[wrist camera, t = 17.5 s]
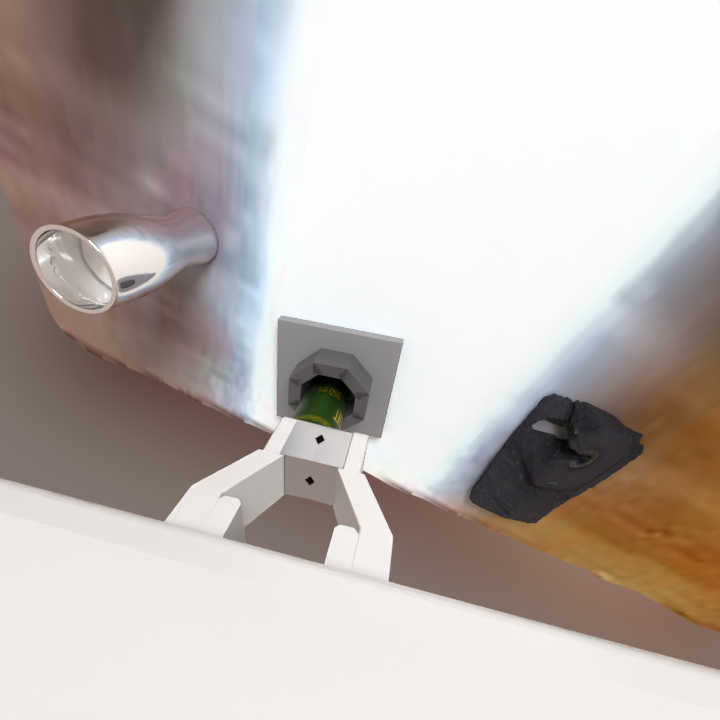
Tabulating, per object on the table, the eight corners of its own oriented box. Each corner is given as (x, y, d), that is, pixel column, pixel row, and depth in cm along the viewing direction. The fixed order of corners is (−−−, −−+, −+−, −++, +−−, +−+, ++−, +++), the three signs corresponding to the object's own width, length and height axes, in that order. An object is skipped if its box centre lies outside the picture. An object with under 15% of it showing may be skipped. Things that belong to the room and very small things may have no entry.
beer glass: (172, 188, 35) (29, 199, 22) (231, 228, 36) (127, 261, 23) (156, 244, 38) (23, 281, 25) (210, 279, 39) (109, 332, 27)
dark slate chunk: (450, 483, 51) (452, 510, 47) (554, 380, 40) (569, 404, 36) (533, 523, 52) (543, 553, 48) (656, 435, 41) (682, 464, 37)
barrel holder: (403, 339, 39) (401, 358, 35) (381, 431, 47) (378, 456, 43) (281, 315, 40) (266, 331, 36) (280, 410, 48) (267, 432, 44)
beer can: (314, 398, 44) (282, 467, 34) (311, 363, 42) (276, 427, 31) (353, 402, 44) (333, 473, 33) (353, 367, 41) (331, 433, 31)
